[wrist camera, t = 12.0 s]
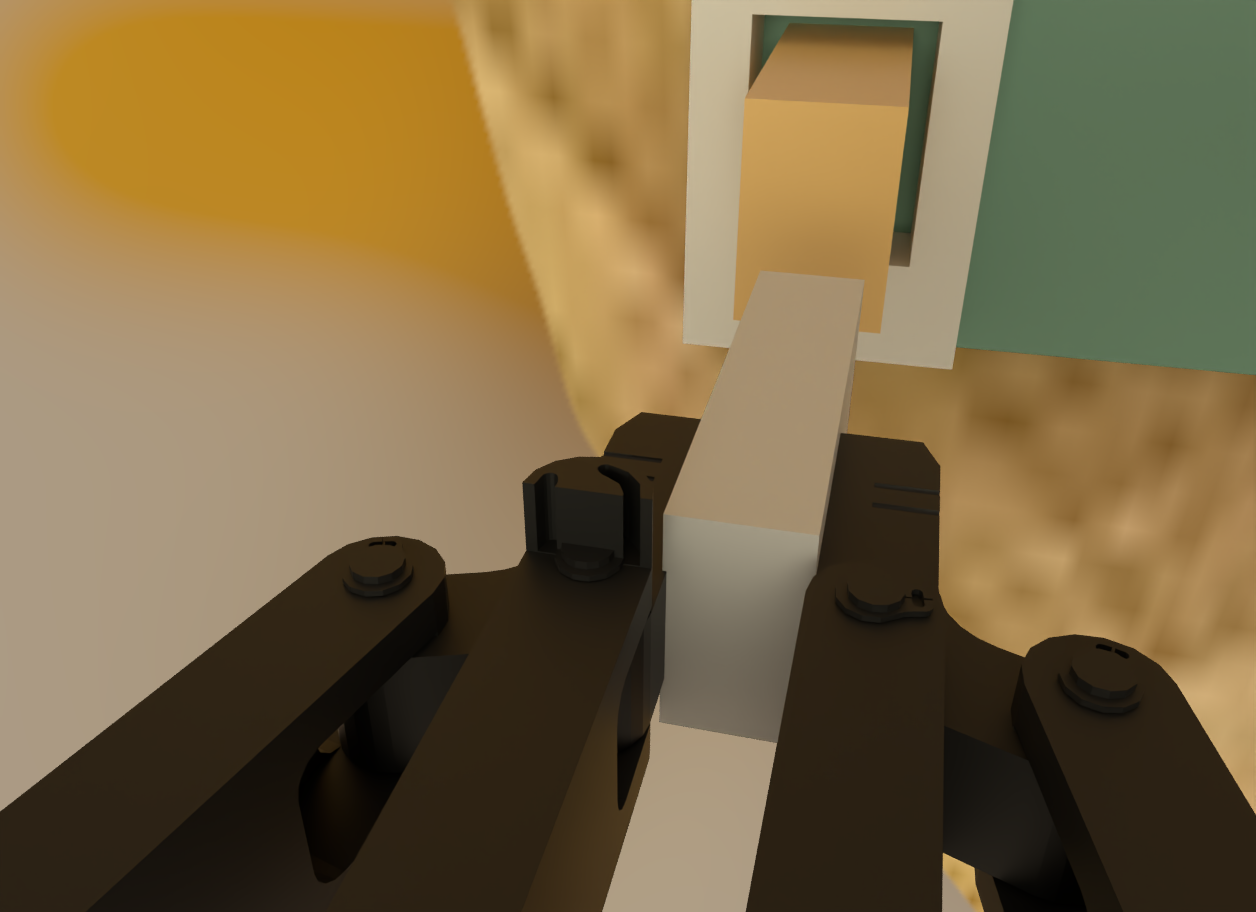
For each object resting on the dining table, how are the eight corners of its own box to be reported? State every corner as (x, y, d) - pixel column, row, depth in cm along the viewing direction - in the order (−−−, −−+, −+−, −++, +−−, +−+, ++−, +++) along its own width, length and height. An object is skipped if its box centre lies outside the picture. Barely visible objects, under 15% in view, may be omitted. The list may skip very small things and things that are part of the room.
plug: (913, 27, 27) (908, 107, 20) (887, 237, 30) (875, 369, 23) (789, 22, 27) (744, 98, 21) (775, 229, 30) (731, 354, 23)
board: (1741, -143, 23) (1862, -132, 20) (1502, 382, 29) (1567, 449, 26) (721, -152, 27) (695, -145, 24) (704, 309, 33) (682, 360, 30)
